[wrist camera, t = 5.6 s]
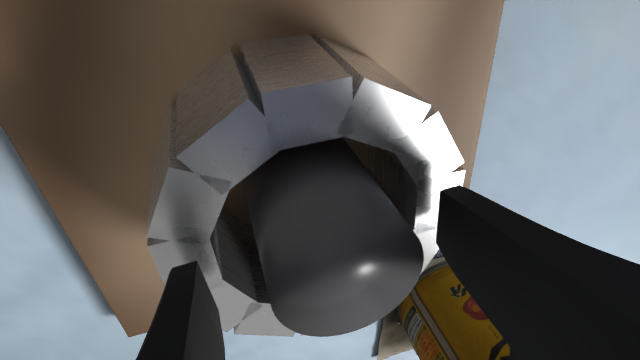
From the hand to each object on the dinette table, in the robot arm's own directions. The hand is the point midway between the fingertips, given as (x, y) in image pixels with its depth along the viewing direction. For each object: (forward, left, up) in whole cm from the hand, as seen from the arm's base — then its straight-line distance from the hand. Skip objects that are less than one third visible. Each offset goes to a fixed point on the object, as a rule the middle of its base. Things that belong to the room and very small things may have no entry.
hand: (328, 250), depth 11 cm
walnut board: (0, 0, -6) cm, 6 cm away
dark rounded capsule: (0, 0, -5) cm, 5 cm away
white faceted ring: (0, 0, -6) cm, 6 cm away
